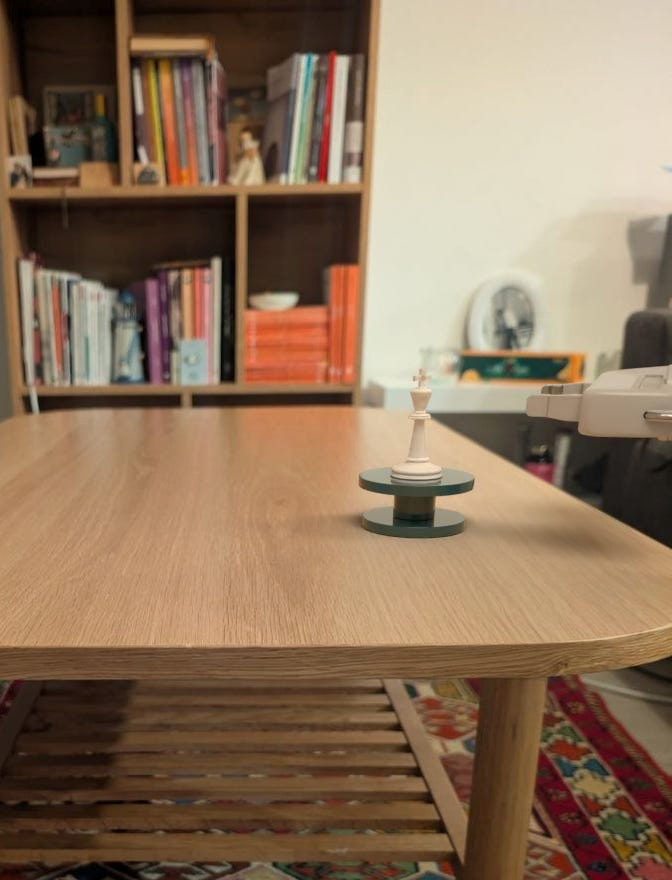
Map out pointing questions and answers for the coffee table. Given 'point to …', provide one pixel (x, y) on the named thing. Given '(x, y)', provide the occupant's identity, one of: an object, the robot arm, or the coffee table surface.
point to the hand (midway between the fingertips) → (534, 399)
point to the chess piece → (418, 437)
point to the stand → (415, 504)
